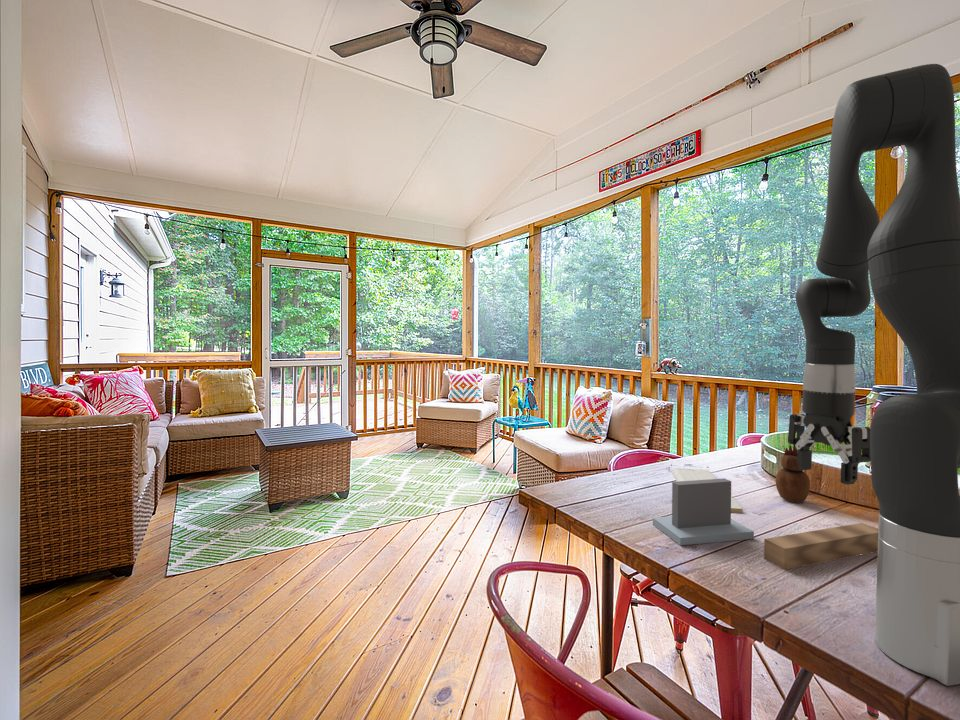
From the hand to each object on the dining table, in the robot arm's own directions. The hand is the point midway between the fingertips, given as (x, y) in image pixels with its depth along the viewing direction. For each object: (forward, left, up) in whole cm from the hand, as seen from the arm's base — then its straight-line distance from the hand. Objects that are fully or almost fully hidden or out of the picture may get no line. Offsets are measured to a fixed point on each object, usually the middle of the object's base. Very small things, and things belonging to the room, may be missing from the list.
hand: (825, 476), depth 82 cm
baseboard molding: (+37, 0, -15) cm, 40 cm away
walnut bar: (0, 0, -15) cm, 15 cm away
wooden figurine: (+25, -17, -15) cm, 34 cm away
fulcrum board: (+13, +16, -15) cm, 25 cm away
